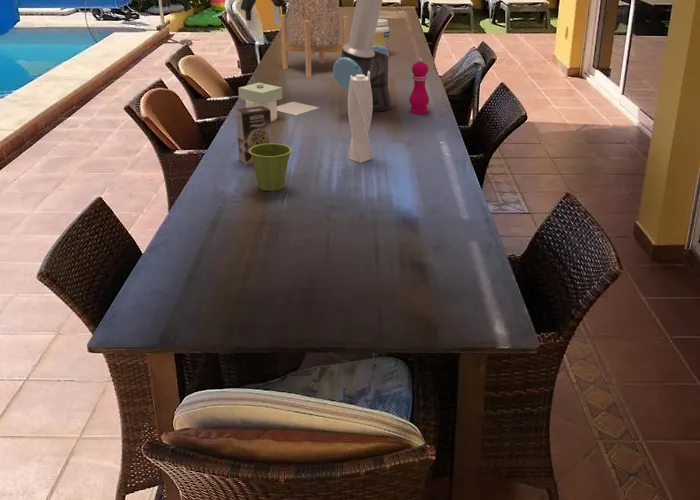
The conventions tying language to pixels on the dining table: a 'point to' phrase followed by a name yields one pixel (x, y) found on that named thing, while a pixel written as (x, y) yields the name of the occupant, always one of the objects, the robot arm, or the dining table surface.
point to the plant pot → (270, 165)
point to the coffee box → (252, 130)
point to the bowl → (271, 106)
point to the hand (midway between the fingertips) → (264, 26)
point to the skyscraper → (360, 117)
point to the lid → (260, 93)
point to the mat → (295, 108)
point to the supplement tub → (382, 34)
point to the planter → (312, 29)
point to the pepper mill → (419, 88)
